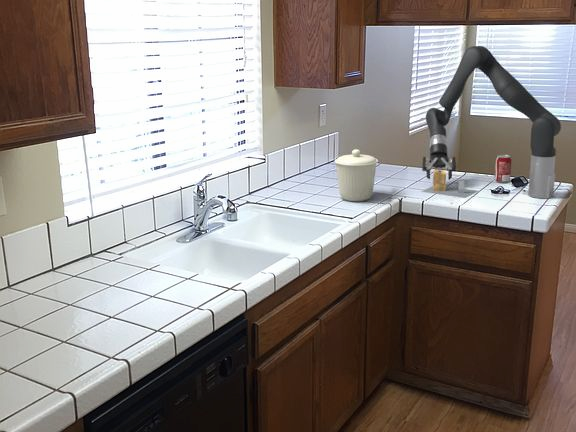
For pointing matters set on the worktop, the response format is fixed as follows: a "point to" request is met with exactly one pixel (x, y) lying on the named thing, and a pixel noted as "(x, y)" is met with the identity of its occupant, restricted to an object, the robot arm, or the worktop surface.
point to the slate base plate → (451, 192)
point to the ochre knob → (439, 180)
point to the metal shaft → (461, 187)
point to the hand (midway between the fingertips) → (439, 178)
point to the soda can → (503, 169)
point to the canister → (356, 176)
